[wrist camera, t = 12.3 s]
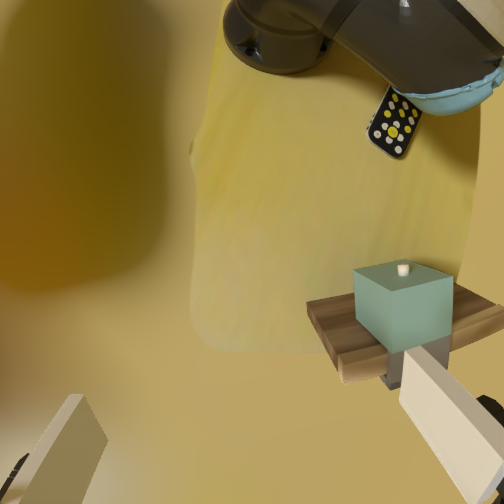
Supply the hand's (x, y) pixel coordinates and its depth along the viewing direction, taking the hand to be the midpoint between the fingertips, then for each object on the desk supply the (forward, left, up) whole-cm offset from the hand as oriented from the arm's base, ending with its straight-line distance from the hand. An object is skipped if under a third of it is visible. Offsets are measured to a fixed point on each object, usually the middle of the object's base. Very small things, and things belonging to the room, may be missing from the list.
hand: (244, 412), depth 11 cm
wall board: (+10, +19, -31) cm, 37 cm away
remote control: (-16, +25, -31) cm, 43 cm away
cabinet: (+7, +16, -23) cm, 29 cm away
